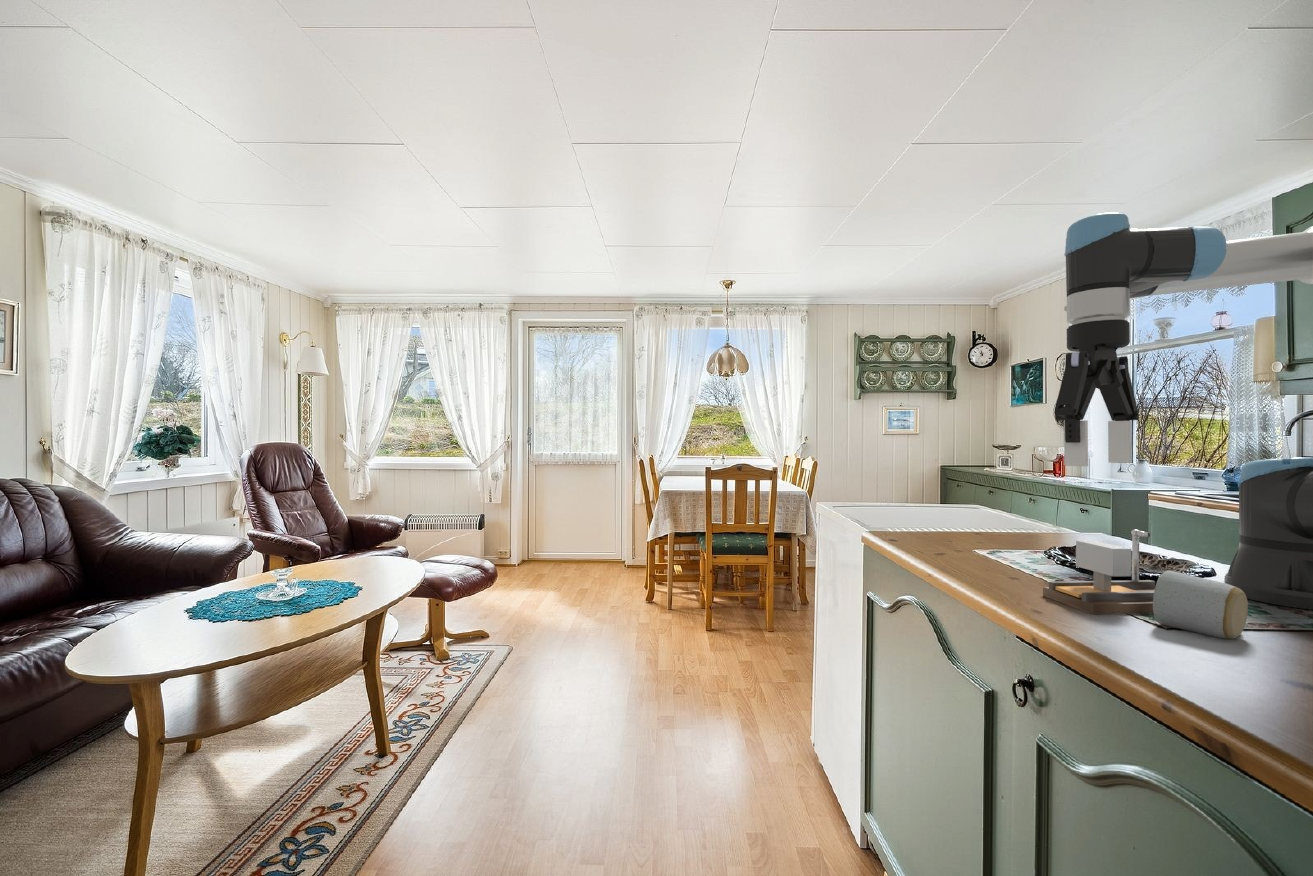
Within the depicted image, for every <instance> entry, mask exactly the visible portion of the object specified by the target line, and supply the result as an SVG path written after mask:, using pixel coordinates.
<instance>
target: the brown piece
mask: <svg viewBox="0 0 1313 876" xmlns="http://www.w3.org/2000/svg"><path fill="white" fill-rule="evenodd" d="M1093 581H1094V580H1072V581H1069V580H1068V581H1067V580H1065V581H1064V580H1062V581H1048V586H1042V596H1043V597H1046V598H1048V599H1051V600H1053V601H1056V602H1059V603H1061V604H1064V605H1066V606H1070V607H1072V608H1075V609H1077V610H1080V611H1083V612H1086V613H1088V614H1091V615H1122V614H1123V615H1127V614H1129V615H1133V614H1134V615H1135V614H1154V612H1153V596H1154V590H1155V586H1156V581H1155V580H1151V579H1145V580H1144V579H1142V580H1141V579H1139V580H1132V579H1131V580H1128V579H1127V580H1111V586H1122V587H1125V588H1128V589H1132V590H1135V591H1139V592H1082V598H1078V597H1075V596H1073V595H1070V594H1067V593H1064V592H1061V591H1058V590H1056V587H1059V586H1093Z"/></svg>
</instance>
